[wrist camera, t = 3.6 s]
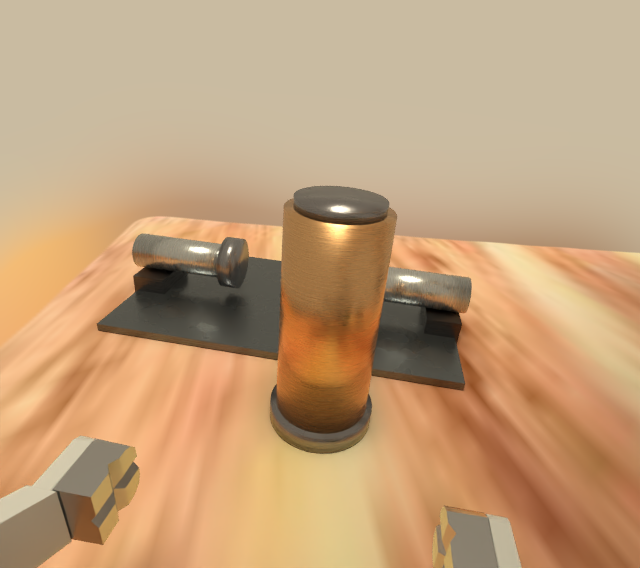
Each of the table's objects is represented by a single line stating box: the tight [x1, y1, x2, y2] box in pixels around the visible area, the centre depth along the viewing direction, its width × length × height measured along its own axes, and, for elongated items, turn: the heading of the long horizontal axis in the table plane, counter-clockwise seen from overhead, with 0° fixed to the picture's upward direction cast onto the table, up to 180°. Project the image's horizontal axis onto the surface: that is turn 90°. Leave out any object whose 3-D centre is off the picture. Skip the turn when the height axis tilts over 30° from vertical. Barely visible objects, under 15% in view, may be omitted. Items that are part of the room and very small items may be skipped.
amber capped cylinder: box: [270, 186, 397, 453], centre depth 21 cm, size 5×5×12 cm
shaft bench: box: [97, 234, 471, 390], centre depth 32 cm, size 25×14×5 cm, turn 81°
